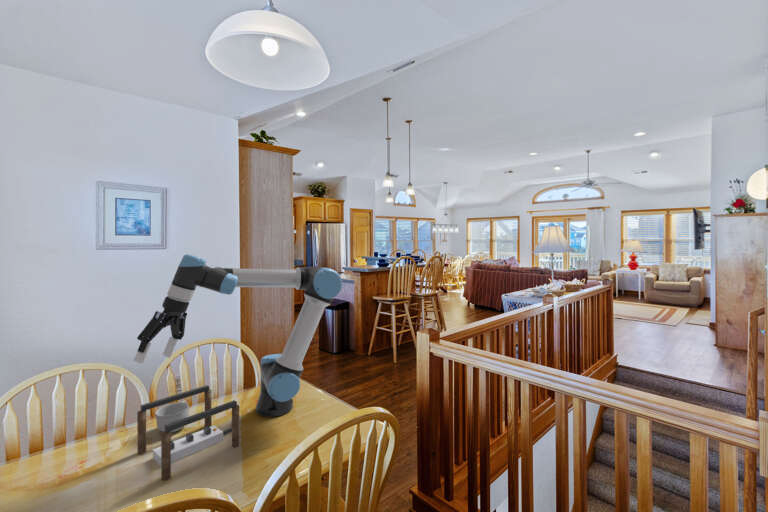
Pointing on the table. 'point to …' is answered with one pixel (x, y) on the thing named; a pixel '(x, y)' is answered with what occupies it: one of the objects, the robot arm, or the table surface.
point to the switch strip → (192, 443)
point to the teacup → (171, 414)
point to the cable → (199, 416)
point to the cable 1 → (174, 398)
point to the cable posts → (167, 435)
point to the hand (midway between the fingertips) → (153, 359)
